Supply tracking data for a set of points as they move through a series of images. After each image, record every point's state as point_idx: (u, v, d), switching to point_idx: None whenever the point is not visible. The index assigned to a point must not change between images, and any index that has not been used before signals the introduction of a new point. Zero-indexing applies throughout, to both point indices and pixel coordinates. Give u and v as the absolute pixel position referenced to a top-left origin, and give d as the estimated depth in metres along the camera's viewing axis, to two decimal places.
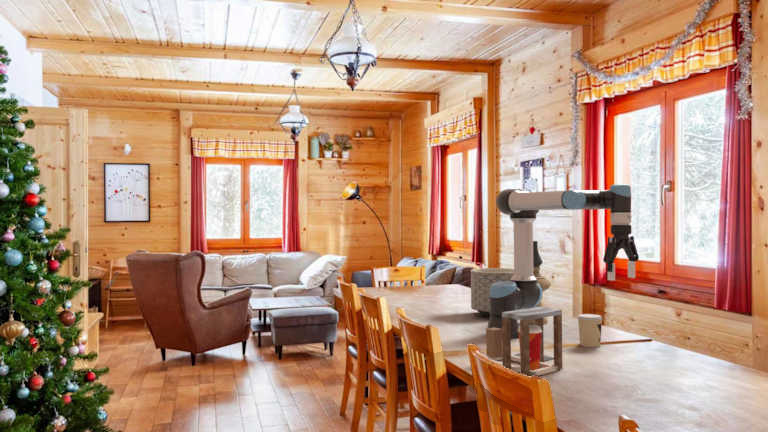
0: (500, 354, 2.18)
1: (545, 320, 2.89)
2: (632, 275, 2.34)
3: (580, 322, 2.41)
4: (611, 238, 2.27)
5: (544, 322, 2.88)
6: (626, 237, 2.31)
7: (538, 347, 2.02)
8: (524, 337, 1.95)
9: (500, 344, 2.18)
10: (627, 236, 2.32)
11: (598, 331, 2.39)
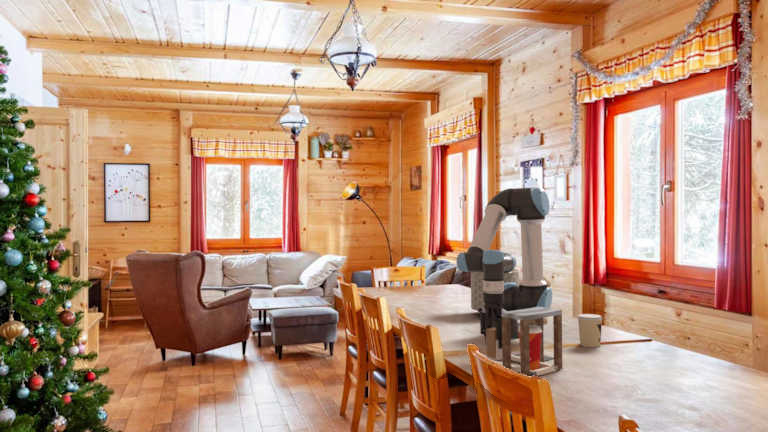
0: None
1: (545, 320, 2.89)
2: None
3: (580, 322, 2.41)
4: None
5: (544, 322, 2.88)
6: (496, 305, 2.16)
7: (538, 347, 2.02)
8: (524, 337, 1.95)
9: None
10: (498, 306, 2.15)
11: (598, 331, 2.39)
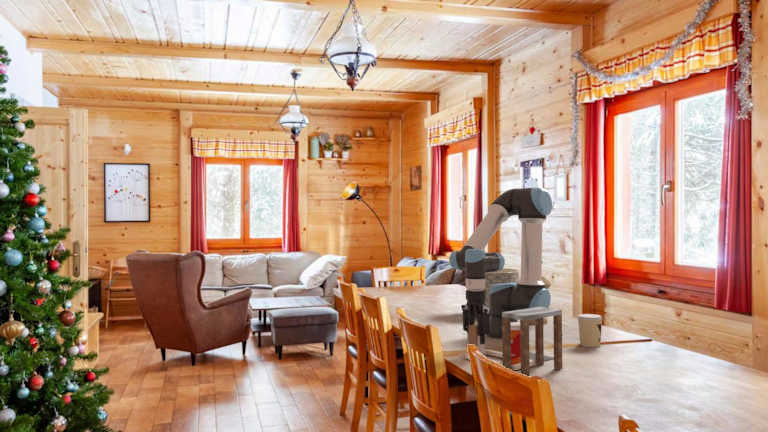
0: None
1: (545, 320, 2.89)
2: None
3: (580, 322, 2.41)
4: None
5: (544, 322, 2.88)
6: (478, 302, 2.24)
7: None
8: (524, 337, 1.95)
9: None
10: (479, 303, 2.23)
11: (598, 331, 2.39)
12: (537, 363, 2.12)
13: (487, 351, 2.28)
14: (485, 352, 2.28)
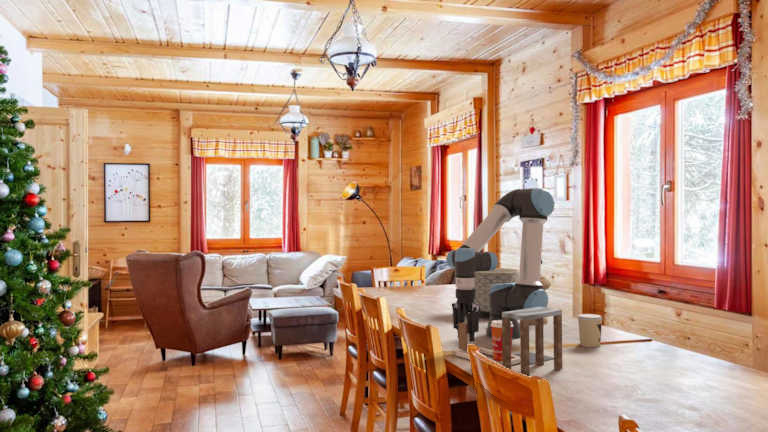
0: None
1: (545, 320, 2.89)
2: None
3: (580, 322, 2.41)
4: None
5: (544, 322, 2.88)
6: (467, 301, 2.28)
7: None
8: (524, 337, 1.95)
9: None
10: (469, 301, 2.27)
11: (598, 331, 2.39)
12: (537, 363, 2.12)
13: None
14: None
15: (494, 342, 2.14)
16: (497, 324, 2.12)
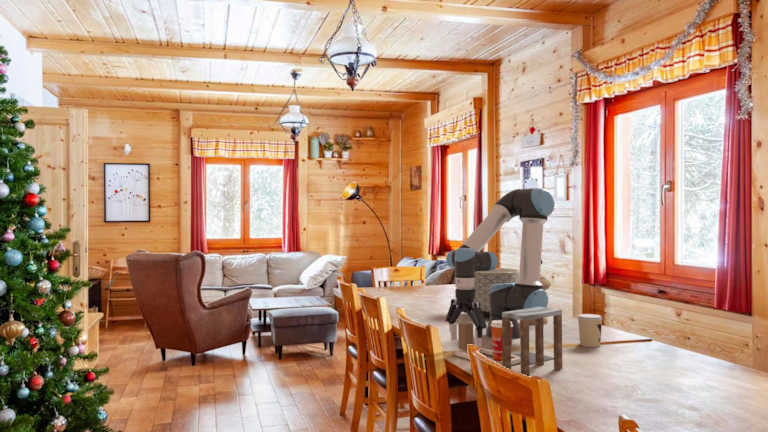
0: None
1: (545, 320, 2.89)
2: None
3: (580, 322, 2.41)
4: None
5: (544, 322, 2.88)
6: (466, 302, 2.28)
7: None
8: (524, 337, 1.95)
9: (471, 337, 2.30)
10: (467, 301, 2.28)
11: (598, 331, 2.39)
12: (537, 363, 2.12)
13: None
14: None
15: (494, 342, 2.14)
16: (497, 324, 2.13)
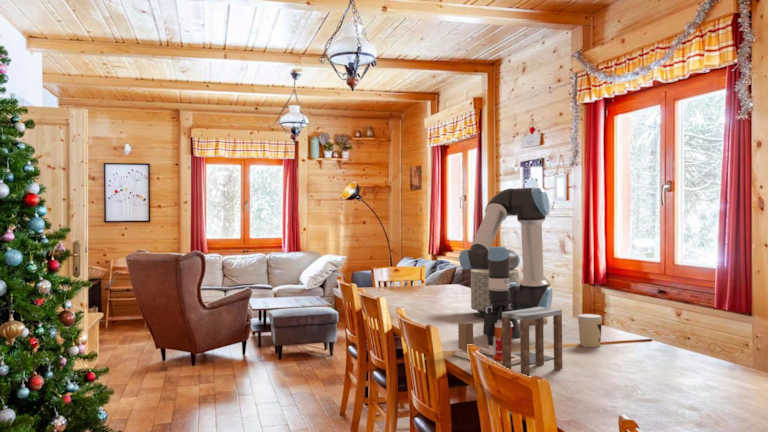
0: None
1: (545, 320, 2.89)
2: None
3: (580, 322, 2.41)
4: (486, 309, 2.12)
5: (544, 322, 2.88)
6: (505, 302, 2.17)
7: None
8: (524, 337, 1.95)
9: (471, 337, 2.30)
10: (507, 302, 2.17)
11: (598, 331, 2.39)
12: (537, 363, 2.12)
13: None
14: None
15: None
16: (497, 324, 2.13)
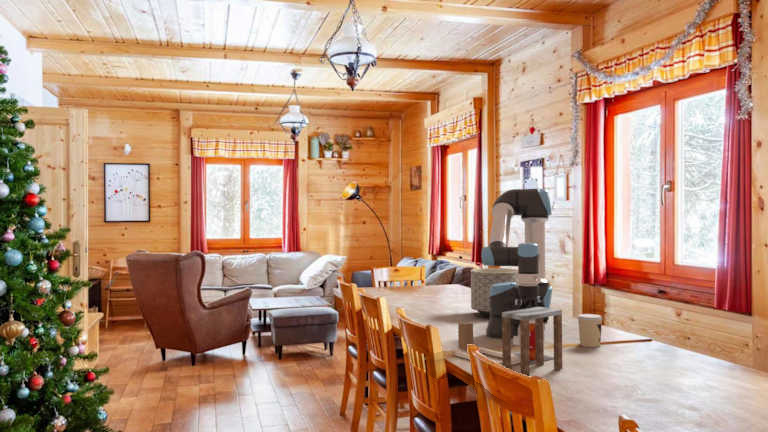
0: None
1: None
2: None
3: (580, 322, 2.41)
4: (516, 300, 2.18)
5: None
6: (534, 298, 2.22)
7: None
8: (524, 337, 1.95)
9: (471, 337, 2.30)
10: (535, 297, 2.23)
11: (598, 331, 2.39)
12: (537, 363, 2.12)
13: None
14: None
15: None
16: None
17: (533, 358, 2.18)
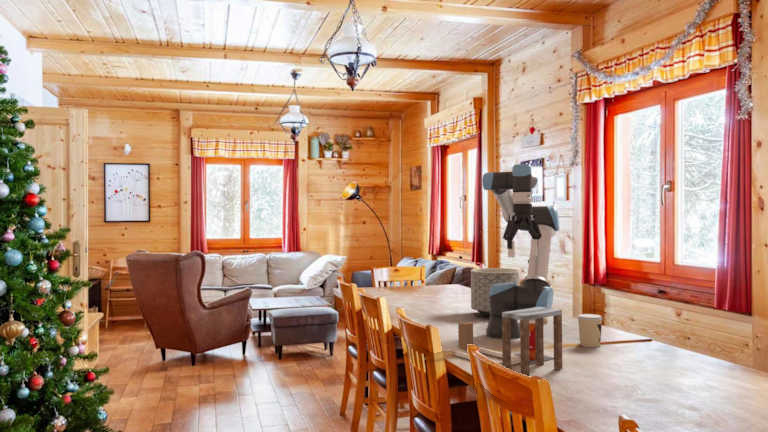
0: None
1: (545, 320, 2.89)
2: (534, 253, 2.41)
3: (580, 322, 2.41)
4: (511, 216, 2.34)
5: (544, 322, 2.88)
6: (527, 216, 2.38)
7: None
8: (524, 337, 1.95)
9: (471, 337, 2.30)
10: (528, 215, 2.39)
11: (598, 331, 2.39)
12: (537, 363, 2.12)
13: None
14: None
15: None
16: None
17: (533, 358, 2.18)
